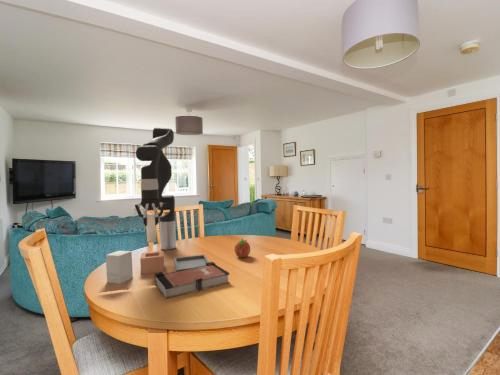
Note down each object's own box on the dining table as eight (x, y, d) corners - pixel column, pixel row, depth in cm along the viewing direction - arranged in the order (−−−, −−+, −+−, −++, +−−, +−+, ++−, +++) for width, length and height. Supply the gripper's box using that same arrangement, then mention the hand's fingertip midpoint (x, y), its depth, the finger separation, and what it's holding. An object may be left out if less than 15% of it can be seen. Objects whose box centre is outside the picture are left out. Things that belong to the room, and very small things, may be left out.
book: (166, 301, 98) (165, 287, 98) (154, 285, 113) (154, 273, 113) (230, 284, 112) (230, 272, 112) (212, 272, 127) (212, 261, 127)
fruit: (231, 258, 146) (231, 240, 146) (239, 253, 155) (238, 236, 155) (246, 260, 143) (246, 241, 143) (253, 255, 152) (252, 237, 151)
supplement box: (133, 279, 119) (132, 251, 118) (120, 286, 112) (119, 255, 111) (120, 278, 121) (118, 250, 121) (106, 284, 114) (105, 254, 114)
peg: (147, 240, 130) (146, 213, 129) (156, 240, 131) (155, 213, 131) (147, 242, 126) (146, 214, 126) (156, 241, 127) (155, 214, 127)
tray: (174, 262, 142) (173, 257, 142) (204, 259, 147) (204, 254, 147) (176, 275, 123) (175, 270, 123) (211, 270, 128) (211, 265, 128)
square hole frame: (142, 269, 132) (141, 253, 132) (164, 266, 135) (163, 250, 135) (141, 276, 123) (140, 258, 123) (164, 273, 126) (163, 256, 126)
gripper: (165, 187, 133) (166, 222, 134) (134, 189, 129) (135, 225, 130) (165, 188, 126) (167, 225, 127) (132, 189, 122) (134, 227, 123)
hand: (151, 225), depth 128 cm, fingers closed on peg, 4 cm apart
